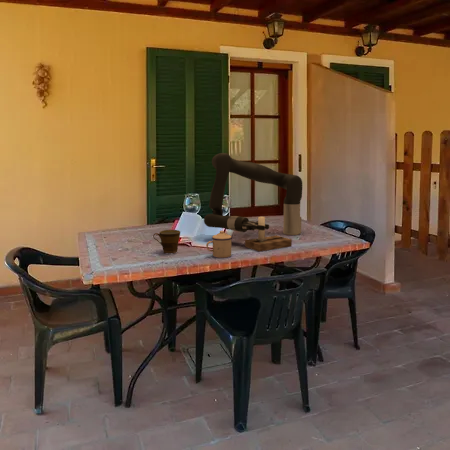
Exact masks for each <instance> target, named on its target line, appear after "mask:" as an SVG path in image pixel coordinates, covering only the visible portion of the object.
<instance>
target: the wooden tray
mask: <svg viewBox="0 0 450 450" xmlns="http://www.w3.org/2000/svg"><path fill="white" fill-rule="evenodd" d="M256 239H258V237H256V238H250V239H245V240H244V247H245V248H247V249H250V250H254V251H256V252H260V253H261V252H265V251H271V250H277V249H278V250H279V249H283V248H288V247H292V241H293V239H292V238H287V237H284V236H281V235H278V234H277V235H270V236H265V239H267V241H263V242H259V241H257V240H256Z"/></svg>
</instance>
